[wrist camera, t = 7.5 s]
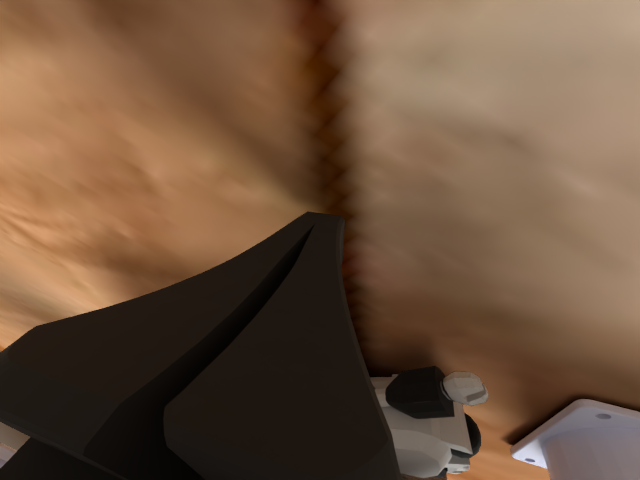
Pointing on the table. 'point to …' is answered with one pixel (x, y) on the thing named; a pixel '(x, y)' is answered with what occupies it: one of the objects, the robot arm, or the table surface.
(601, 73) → the table surface
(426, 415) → the robot toy
